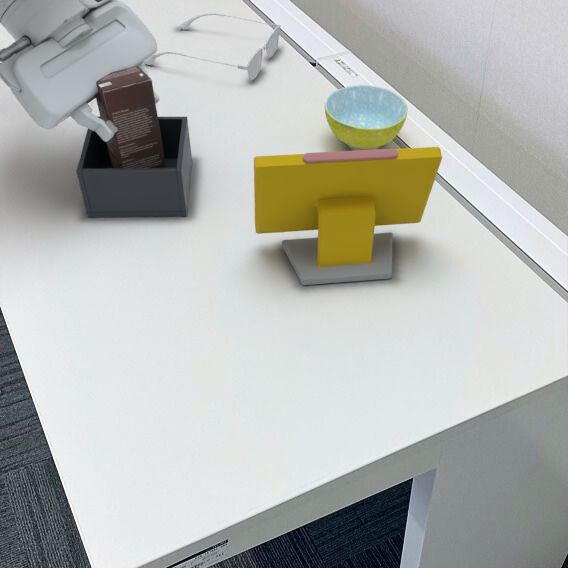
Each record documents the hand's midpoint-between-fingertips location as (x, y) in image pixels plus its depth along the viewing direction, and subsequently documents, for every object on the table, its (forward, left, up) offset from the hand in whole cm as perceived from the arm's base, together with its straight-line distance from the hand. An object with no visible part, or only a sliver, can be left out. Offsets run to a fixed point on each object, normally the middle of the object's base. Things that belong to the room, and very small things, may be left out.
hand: (134, 120), depth 93 cm
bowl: (+30, +10, -10) cm, 33 cm away
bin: (0, 0, -10) cm, 10 cm away
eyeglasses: (+8, +36, -10) cm, 38 cm away
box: (-1, 0, -7) cm, 7 cm away
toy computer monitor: (+25, -15, -10) cm, 30 cm away
